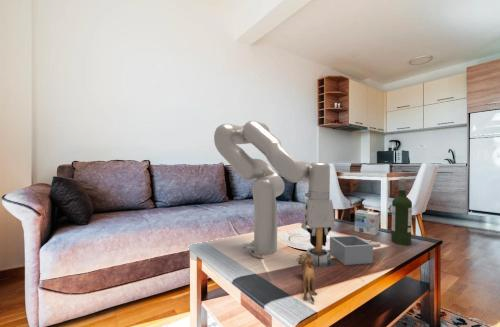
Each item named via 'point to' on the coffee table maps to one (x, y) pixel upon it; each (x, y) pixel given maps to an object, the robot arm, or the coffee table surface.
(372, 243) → the adjustable wrench
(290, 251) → the coffee table surface
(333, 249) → the bin
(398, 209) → the wine bottle
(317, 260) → the socket plate
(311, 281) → the lion figurine
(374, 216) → the light bulb box
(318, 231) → the strut
